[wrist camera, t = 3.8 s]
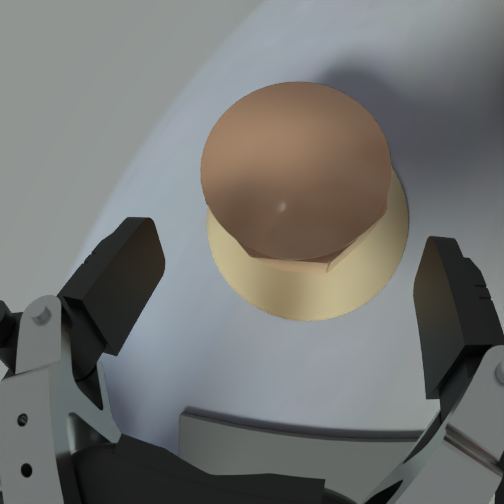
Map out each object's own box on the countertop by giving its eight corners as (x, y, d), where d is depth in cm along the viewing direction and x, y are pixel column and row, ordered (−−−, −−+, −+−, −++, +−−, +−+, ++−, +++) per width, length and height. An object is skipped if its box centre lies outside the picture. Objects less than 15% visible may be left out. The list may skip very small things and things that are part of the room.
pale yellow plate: (403, 132, 16) (410, 117, 14) (400, 327, 15) (409, 331, 13) (221, 125, 19) (212, 111, 17) (198, 308, 18) (185, 309, 16)
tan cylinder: (364, 165, 16) (385, 86, 9) (360, 276, 16) (390, 266, 8) (256, 160, 18) (214, 84, 10) (245, 267, 17) (189, 250, 10)
